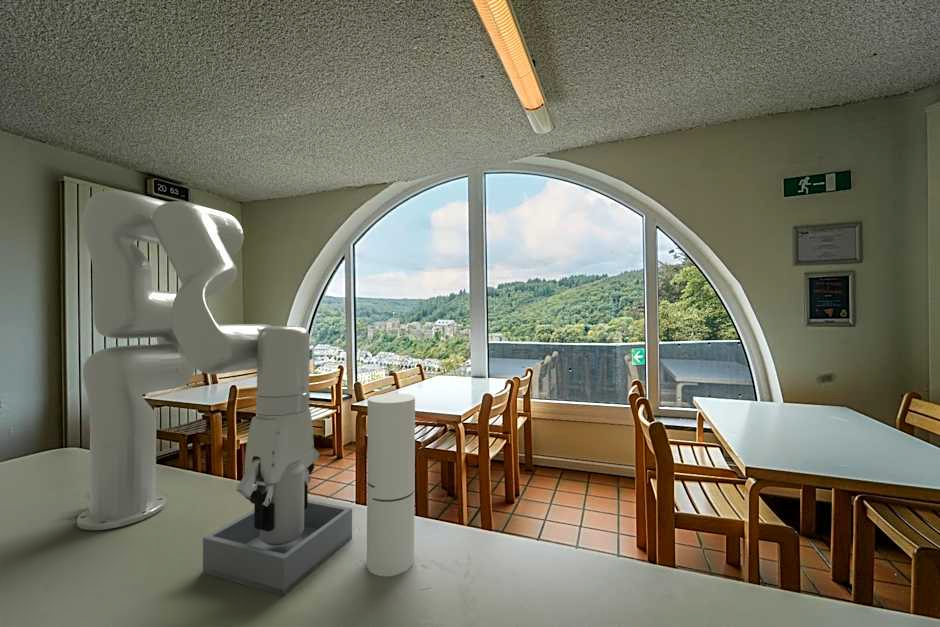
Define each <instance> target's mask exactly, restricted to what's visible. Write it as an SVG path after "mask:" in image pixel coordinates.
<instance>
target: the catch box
mask: <svg viewBox="0 0 940 627" xmlns="http://www.w3.org/2000/svg"><path fill="white" fill-rule="evenodd" d="M352 539H353V508H351V507H346V506H342V505H335V504H330V503H325V502H320V501H314V500H311V499H310V500H309V499H308V507H307V508H306V509H305V510H304V530H303V532H302V534H301V535H299V537H298V538H297V539H296V540H294V541H293V542H290V543H288V544H285V545H279V546H271V545H268V544H266V543H264V542H262V541H261V540H260V529H256V528H255V527H254V510H252V511H250V512H247V514H245V515H243V516H240V517H239V518H237V519H235V520H233V521H232V522H230V523H228V524H226V525H225V526H222V527H221V528H219V529H217V530H214V531H213V532H212V533H210V534H208V535H206V536H204V537H203V538H202V573H204V574H208V575H211V576H213V577H217V578H221V579H224V580H228V581H232V582H235V583H238V584H240V585H244V586H245V585H246V586H248V587H252V588H255V589H258V590H262V591H266V592H268V593H269V592H270V593H272V594H275V595H279V596H282V597H285V596H286V595H287V594H288V593H289V592H291V590H293V589H294V588H295V587H297V586H298V585H299V584H300V583H301V582H303V581H304V580H305V579H306V578H308V576H309V575H311V574H312V573H313V572H314V571H315V570H316V569H317V568H319V567H320V566H321V565H323V564H324V563H325V562H326V561H327V560H329V559H330V557H332V556H333V555H334V554H335V553H337V552H338V550H340V549H341V548H343V546H345V545H346V544H347V543H348V542H349V541H350V540H352Z"/></svg>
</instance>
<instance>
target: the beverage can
mask: <svg viewBox="0 0 940 627" xmlns="http://www.w3.org/2000/svg"><path fill="white" fill-rule="evenodd" d="M304 477H305V466H304V465H303V464H302V460H301V461H300V462H297V463H295V464H293V465H290V466H289V467H286V471H285V473H284V474H283V475H282V477H281V480H280V482H278V483H276V484H275V489H274V492H273V496H272V499H271V502H270V503H274V528H273V530H271V531H270V532H268V531H264V530H260V540H261V541H262V542H264V543H266V544H268V545H271V546H279V545H285V544H288V543H290V542H293V541H294V540H296V539H297V538H298V537H299V535H301V534H302V532H303V530H304ZM262 481H264V478H263V477H262ZM266 487H267V486H263V489H262V492H261V493H262V494H264V493H265V490H266Z"/></svg>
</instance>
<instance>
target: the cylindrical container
mask: <svg viewBox="0 0 940 627" xmlns="http://www.w3.org/2000/svg"><path fill="white" fill-rule="evenodd" d="M415 427H416V396H415V395H413V394H407V393H381V394H376V395H371V396H369V397H368V398H367V438H366V439H367V456H366V458H367V459H366V460H367V462H366V463H367V466H366V469H367V470H366V474H367V475H366V480H367V481H366V485H367V486H366V568H367V570H368V572H370V573H371V574H372V575H376V576H378V577H386V578H387V577H394V576H398V575H402V574H404V573H405V572H407V571H408V570H410V569H411V567H412V566H413V565H414V563H415V498H416V496H415V494H416V493H415V490H416V488H415V487H416V486H415V483H416V481H415V480H416V479H415V477H416V476H415V474H416V468H415V467H416V466H415V464H416V463H415V462H416V461H415V460H416V459H415V458H416V457H415V456H416V452H415V451H416V443H415V442H416V441H415V440H416V437H415V436H416V428H415Z"/></svg>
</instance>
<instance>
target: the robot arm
mask: <svg viewBox="0 0 940 627" xmlns="http://www.w3.org/2000/svg"><path fill="white" fill-rule="evenodd" d="M81 221H82V222H81V223H82V231H83V233H82V234H83V237H84V240H85V241H84V242H85V244H86V247H87V250H88V252H89V255H90V260H91V266H92V297H93V298H92V301H93V302H92V303H93V304H92V306H93V321H94V326H95V328H96V331H97V333H99V334H100V335H101V336H103V337H105V338H109V339H119V340H120V339H122V340H124V339H148V338H150V339H151V338H156V342H157V344H156V343H155V344H136V345H135V344H134V345H120V346H112V347H107V348H104V349H100V350H97V351H95V352H94V353H92V354H91V355H90V356H89V357H88V358H87V359H86V361H85V362H84V364H83V367H82V378H83V383H84V388H85V391H86V396H87V402H88V410H89V411H88V412H89V478H88V479H89V485H88V486H89V490H88V491H87V492H85V494H84V499H86V500H88V501H89V503H88V508H87V509H85V510H83V512H82V513H80V514H79V515H78V516H77V518H76V525H77V527H78V528H79V529H81V530H85V531H104V530H105V531H106V530H110V529H116V528H120V527H121V528H122V527H124V526H127V525H132V524H134V523H137V522H138V523H139V522H140V521H143V520H145V519H148V518H150V517H152V516H154V515H156V514H157V513H159V512H160V511H161V510H162V509H163V508H164V507H165V506H166V497H165V495H162V494H160V493H156V489H157V488H156V486H157V484H156V483H157V482H156V481H157V477H156V476H157V474H156V472H157V417H156V413H155V410H154V409H153V408H152V406H151V405H150V404H149V402H148V401H146V399H145V398H144V396H143V395H146V394H150V393H157V392H161V391H169V390H173V389H178V388H181V387H184V386H186V385H187V384H188V383H190V382H191V380H192V378H193V377H194V374H195V371H196V370H197V371H199V372H201V373H204V374H208V375H218V374H219V375H222V374H228V373H233V372H243V371H250V370H256V416H255V415H254V416H252V418H251V421H250V424H249V429H248V434H247V438H246V446H245V447H246V449H245V458H244V460H245V461H244V475H243V477H242V478H241V480H240V482H239V483H238V484H237V486H236V492H238V493H239V494H241V495H242V496H244V498H246V499H247V500H249V501H250V504H253V505H254V507H253V508H254V510H253V511H254V527H255V528H256V529H260V530H264V531H268V532H270V531H271V530H273V528H274V503H270V502H271V499H272V496H273V492H274V489H275V484H276V483H278V482H280V480H281V477H282V475H283V474H284V473H285V471H286V467H289V466H290V465H293V464H295V463H297V462H300V461H301V460H302V464H303V465H304V466H305V477H304V510H305V509H306V508H307V507H308V500H309V498H308V497H309V496H308V495H309V492H308V489H309V488H308V486H309V485H308V484H309V483H310V482H311V480H312V477H311V476H312V475H311V474H313V471H314V469H315V465H316V463H317V461H318V459H319V458H320V452H319V451H318V450H317V449H316V448H315V447H314V446H315V443H314V442H315V441H314V427H313V418H312V414H311V413H312V412H311V408H310V397H311V394H310V353H311V352H310V349H311V348H310V346H311V344H310V340H311V339H310V338H311V337H310V333H309V331H308V330H307V328H305V327H302V326H298V325H297V326H294V325H293V326H291V325H290V326H289V325H283V326H282V325H280V326H279V325H278V326H276V325H270V324H266V323H228V324H227V323H226V324H225V323H224V324H223V323H222V324H221V323H219V324H218V323H217V322H216V320H215V319H214V317H213V315H212V313H211V311H210V310H209V307H208V304H207V301H206V298H207V297H211V296H213V295H215V294H217V293H220V292H222V291H223V290H225V289H227V288H228V287H229V286H230V285H232V284H233V283H234V282H235V280H236V279H237V276H238V268H237V266H236V265H235V263H234V261H233V259H232V257H231V256H233V255H236V254H237V253H238V252H239V251H240V250H241V249H242V247H243V243H244V230H243V228H242V225H241V224H240V222H239V221H238V220H237V218H236V217H234V216H233V215H231V214H230V213H227V212H225V211H222V210H218V209H214V208H210V207H206V206H203V205H201V204H200V205H199V204H195V203H192V202H186V201H177V200H176V201H175V200H174V201H165V200H161V199H158V198H156V197H155V198H154V197H151V196H149V195H148V196H146V195H143V194H139V193H135V192H131V191H124V190H116V189H115V190H114V189H112V190H109V189H108V190H102V191H98V192H96V193H95V194H93V195H92V196H91V197H90V198H89V199H88V201H87V202H86V204H85V207H84V210H83V213H82V220H81ZM135 241H139V242H144V243H149V244H153V245H154V244H155V245H161V246H162V248H163V250H164V252H165V253H166V255H167V258H168V260H169V261H170V263H171V265H172V267H173V270H174V272H175V273H176V275H177V277H178V279H179V280H180V283H181V285H180V288H179V289H177V290H178V291H176V292H174V291H165V290H155V289H154V288H153V282H152V281H153V279H152V277H153V276H152V274H153V273H152V267H151V264H150V262H149V260H148V259H147V256H146V255H145V254H144V253H143V251H142V250H141V249H140V248H139V246H137V245H136V243H135ZM262 477H263V478H264V481H262ZM263 486H267V487H266V490H265V493H264V494H262V493H261V492H262V489H263Z"/></svg>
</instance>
